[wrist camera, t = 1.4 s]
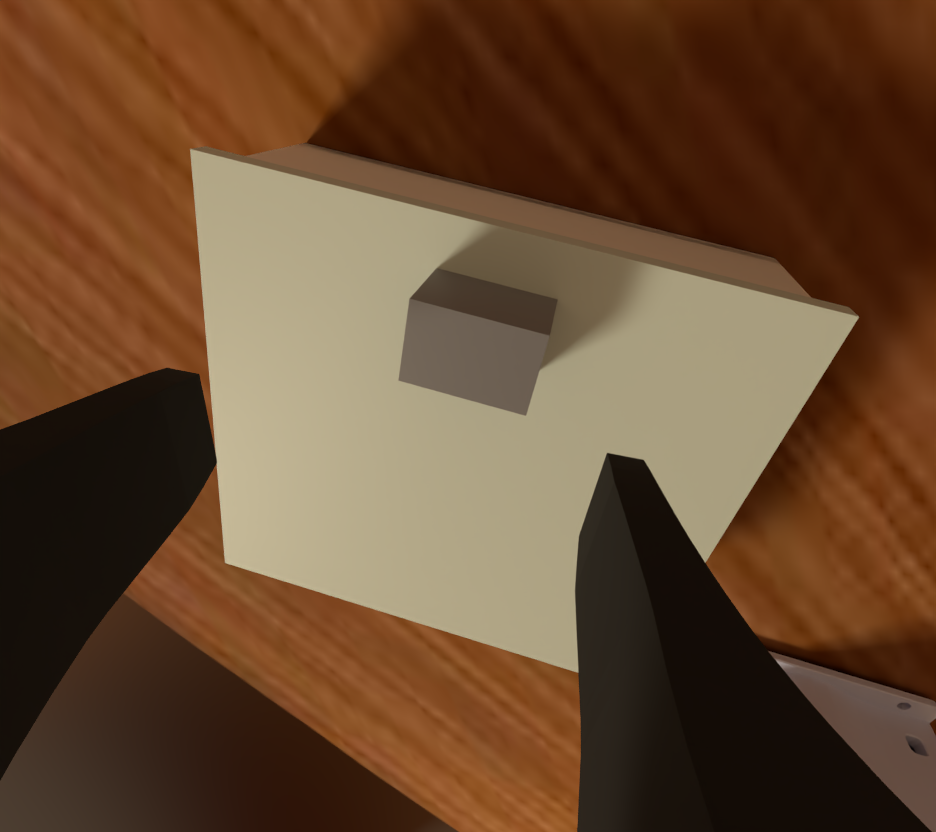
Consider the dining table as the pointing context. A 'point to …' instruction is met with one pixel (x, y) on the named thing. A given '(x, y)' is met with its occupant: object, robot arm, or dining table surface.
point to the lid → (469, 395)
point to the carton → (537, 215)
